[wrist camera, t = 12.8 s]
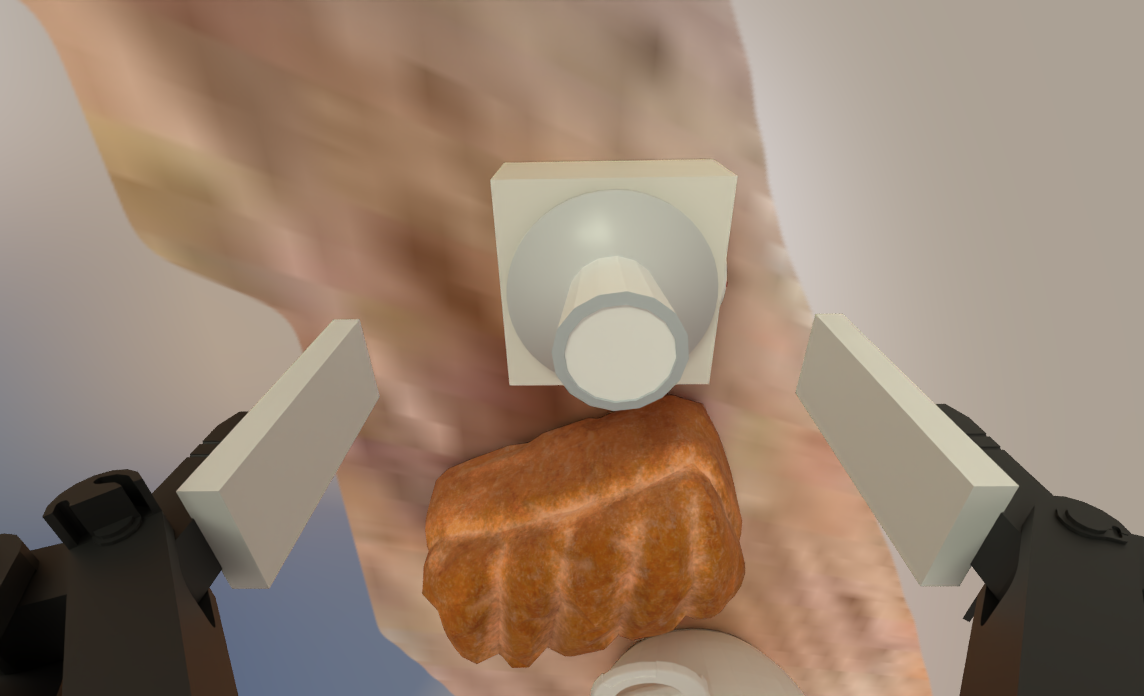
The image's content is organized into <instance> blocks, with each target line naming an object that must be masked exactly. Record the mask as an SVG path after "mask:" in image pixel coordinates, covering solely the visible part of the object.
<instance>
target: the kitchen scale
mask: <svg viewBox="0 0 1144 696" xmlns="http://www.w3.org/2000/svg"><path fill="white" fill-rule="evenodd" d="M737 177H738V176H737V175H735V174H734V173H733V172H731V171H730V170H728V169H727V168H725V167H724V166H722V165H721V164H720V163H718V162H717V161H715V160H714V159H689V160H628V161H567V162H506V163H504V164H503V165H502V166H501V167H500V169H499V170H498V171H497V172H496V173H495V175H494V176H493V177H492V178H491V180H490V182H491V193H492V203H493V214H494V225H495V235H496V246H497V256H498V267H499V278H500V288H501V299H502V310H503V320H504V331H505V342H506V352H507V363H508V374H509V384H510V385H563V384H562V382H561V381H560V379H559V378H558V377H557V375H556V373H555V368H554V363H553V357H552V352H551V351H552V348H553V344H554V340H555V336H556V332H557V328H558V325H559V322H560V318H561V315H562V312H563V308H564V305H565V302H566V298H567V295H568V292H569V288H570V285H571V282H572V280H573V279H574V278H575V276H576V275H577V274H578V272H579V271H580V270H581V269H582V267H584V266H586V265H588V264H589V263H591V262H593V261H595V260H597V259H598V258H605V257H612V256H620V257H624V258H628V259H632V260H635V261H636V262H638V263H639V264H640V265H642V266H643V267H645V268H646V269H647V270H649V272H650V273H651V275H652V276H653V278H654V280H655V281H656V283H657V284H658V286H659V287H660V289H661V291H662V292H663V294H664V295H665V297H666V299H667V300H668V302H669V303H670V305H671V306H672V308H673V310H674V311H675V313H676V314H677V316H678V318H679V320H680V322H681V323H682V325H683V327H684V329H685V331H686V332H687V334H688V348H689V360H688V362H687V364H686V367H685V369H684V371H683V374H682V376H681V379H680V381H679V382H678V383H677V384H709V381H710V374H711V366H712V359H713V352H714V345H715V337H716V330H717V323H718V316H719V308H720V305H721V304H722V301H723V299H724V295H725V290H726V287H727V283H728V282H727V261H726V257H727V250H728V243H729V236H730V228H731V221H732V214H733V206H734V199H735V192H736V185H737Z"/></svg>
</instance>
